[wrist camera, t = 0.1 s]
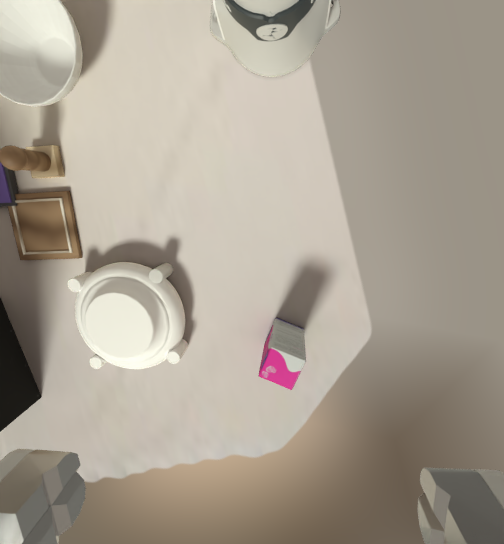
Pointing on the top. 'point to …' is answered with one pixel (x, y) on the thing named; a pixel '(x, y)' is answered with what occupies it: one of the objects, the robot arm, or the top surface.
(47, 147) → the stamp
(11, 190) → the ink pad
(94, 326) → the round stand with pegs
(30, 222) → the board
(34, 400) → the coffee maker
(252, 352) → the top surface
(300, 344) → the supplement box
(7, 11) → the bowl
